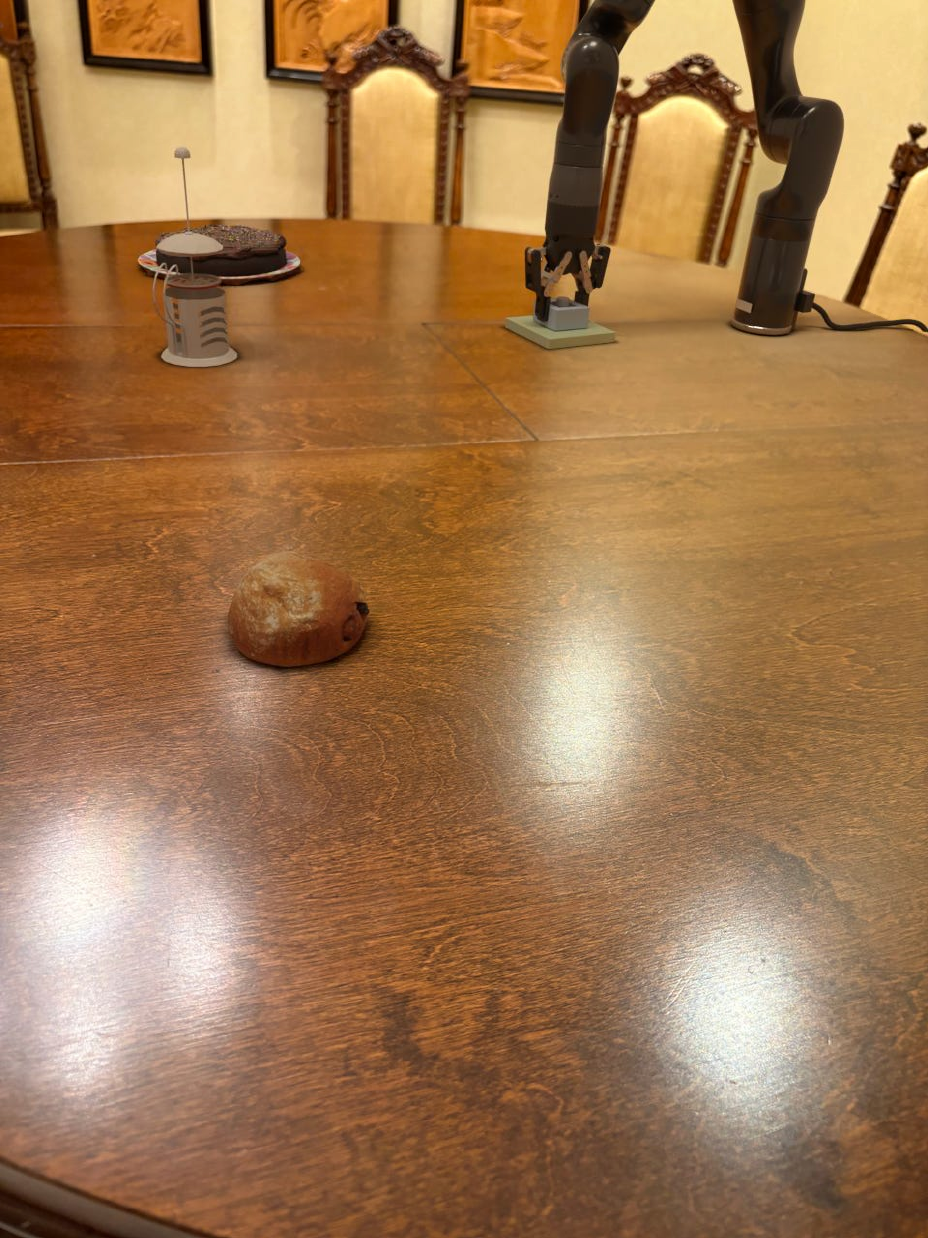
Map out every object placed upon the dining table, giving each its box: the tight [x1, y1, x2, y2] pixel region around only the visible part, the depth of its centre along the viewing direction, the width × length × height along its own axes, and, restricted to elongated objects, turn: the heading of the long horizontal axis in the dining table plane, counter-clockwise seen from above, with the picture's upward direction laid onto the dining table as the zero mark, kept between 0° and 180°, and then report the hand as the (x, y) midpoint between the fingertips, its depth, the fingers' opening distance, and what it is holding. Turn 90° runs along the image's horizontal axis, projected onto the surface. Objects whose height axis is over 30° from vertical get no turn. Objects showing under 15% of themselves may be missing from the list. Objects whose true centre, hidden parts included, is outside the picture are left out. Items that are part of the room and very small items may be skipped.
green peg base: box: [504, 295, 617, 350], centre depth 146 cm, size 12×12×6 cm
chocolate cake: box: [137, 223, 302, 287], centre depth 170 cm, size 28×28×7 cm
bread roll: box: [226, 550, 370, 668], centre depth 72 cm, size 10×10×8 cm
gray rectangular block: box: [532, 298, 591, 331], centre depth 145 cm, size 6×6×3 cm
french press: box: [152, 146, 238, 368], centre depth 121 cm, size 10×12×25 cm
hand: (560, 318), depth 146 cm, fingers closed on gray rectangular block, 6 cm apart
